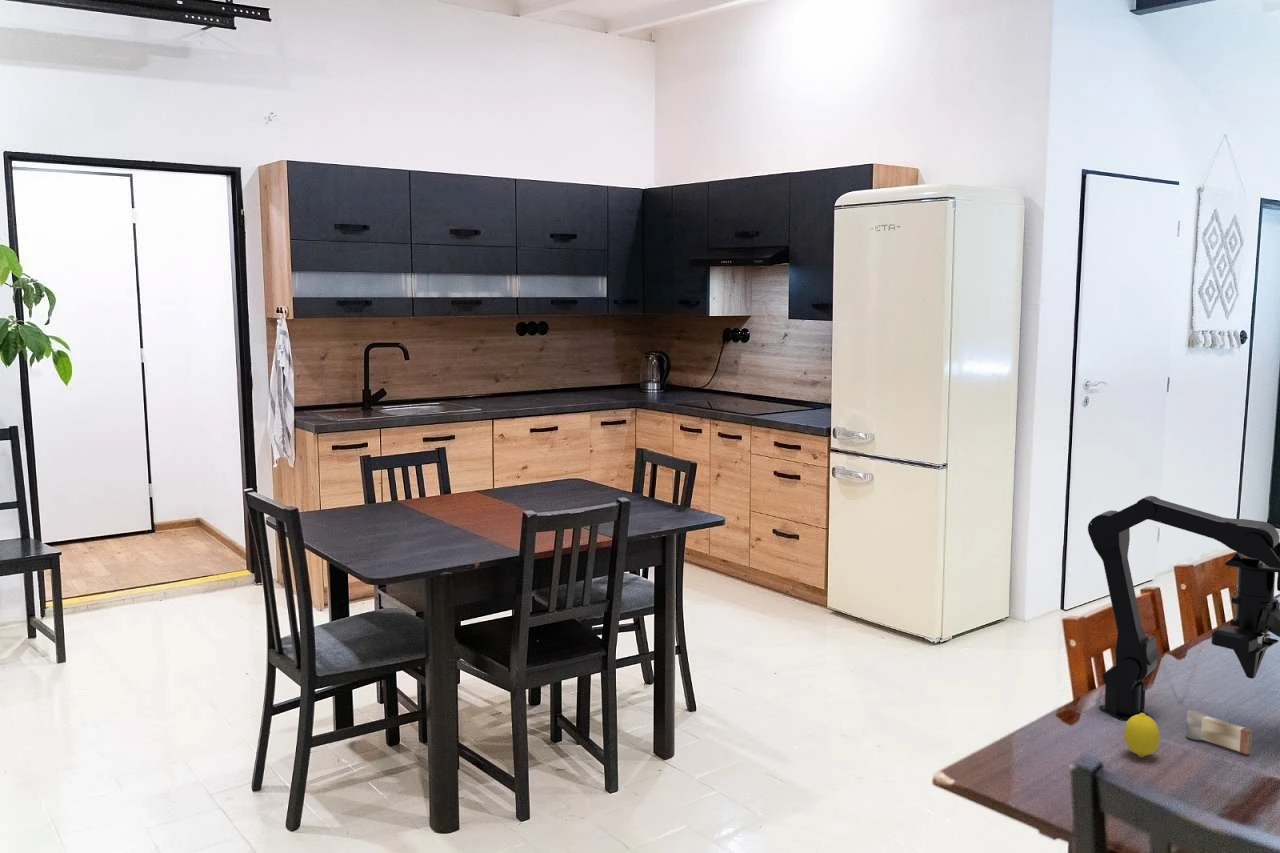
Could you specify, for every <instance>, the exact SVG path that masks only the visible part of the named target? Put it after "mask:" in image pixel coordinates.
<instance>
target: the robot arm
mask: <svg viewBox="0 0 1280 853" xmlns="http://www.w3.org/2000/svg"><path fill="white" fill-rule="evenodd" d="M1147 520H1150V521H1154V522H1157V523H1160V524H1163V525H1166V526H1167V525H1168V526H1170V527H1174V528H1176V529H1180V530H1183V531H1187V532H1190V533H1194V534H1197V535H1199V536H1203V537H1206V538H1210V539H1213V540H1215V541H1217V542H1220V543H1221V544H1222V545H1224V546H1226V547H1227V548H1229V549H1230V550H1233V551H1234V552H1235V554H1234V555H1233V556H1232V557H1231V558H1229V559H1228V560H1226V561H1225V563H1224V564H1225V567H1231V568H1234V567H1235V568H1237V579H1236V580H1237V581H1236V595H1235V596H1233V597H1231V604H1235V618H1232V619H1230V626H1228V625H1225V626H1224V627H1221V628H1218V629H1216V630H1214V631H1213V632H1211V645H1214V646H1218V647H1222V648H1225V649H1230V650H1233V651H1234V654H1235V655H1236V657H1237V659H1238V661H1239V663H1240V666H1241V668H1242V670H1243V672H1244V674H1245V676H1246V678H1248V679H1252V680H1253V679H1255V678H1256V676H1257V673H1258V671H1259V669H1260V667H1261V663H1262V661H1263V658H1264V656H1265V654H1266V651H1267V650H1268V649H1269V648H1271V647H1272V646H1274V645H1276V644H1278V643H1279V640H1278V639H1276V638H1272V637H1271V634H1273V635H1275V636H1277V637H1278V638H1280V601H1279V599H1277V598H1275V582H1276V588H1277V589H1276V590H1277V591H1278V592H1280V535H1279V534H1280V533H1279V531H1277V529H1276V527H1275V526H1274V525H1272V524H1271V523H1269V522H1267V521H1263V520H1254V519H1253V520H1252V519H1247V518H1246V519H1245V518H1229V517H1223V516H1219V515H1216V514H1212V513H1209V512H1206V511H1205V512H1204V511H1201V510H1198V509H1195V508H1192V507H1189V506H1184V505H1181V504H1178V503H1174V502H1171V501H1169V500H1168V501H1167V500H1165V499H1160V497H1157V496H1154V495H1147V496H1145V497H1143V498H1141V499H1139V500H1137V502H1135V503H1134V504H1132V505H1130V506H1128V507H1125V508H1123V509H1121V510H1119V511H1117V510H1108V511H1107V510H1106V511H1104V512H1102V513H1100V514H1098V515H1095V516H1094V517H1092V519H1091V520H1090V521H1089V523H1088V525H1087V533H1088V536H1089V537H1090V541H1091V543H1092V545H1093V548H1094V550H1095V551H1096V553H1097V554H1098V556H1099V557H1100V559H1101V560H1102V564H1103V567H1104V568H1103V569H1104V573H1105V578H1106V582H1107V588H1108V593H1109V597H1110V601H1111V605H1112V606H1111V607H1112V611H1113V616H1114V620H1115V621H1114V622H1115V627H1116V631H1117V632H1116V633H1117V634H1116V635H1117V636H1116V643H1115V649H1114V651H1115V658H1114V659H1115V664H1113V665H1112V666H1111V667H1110V668H1108V669H1107V670H1106V671H1105V672H1104V673H1103V674H1102V679H1103V681H1104V685H1105V688H1104V689H1105V690H1104V693H1105V694H1104V704H1101V705H1099V706H1098V708H1099V709H1100V710H1102V711H1104V712H1106V713H1107V714H1109V715H1111V716H1113V717H1115V718H1116V719H1119V720H1122V721H1124V720H1129V719H1130V718H1131V717H1132V716H1134V715H1137V714H1140V713H1144V714H1145V715H1147V716H1149V717H1150V715H1149V712H1146V711H1145V707H1146V704H1145V701H1146V690H1145V683H1144V682H1143V681H1141V680H1144V679H1145V678H1146V677H1147V676H1148V675H1149V674H1150V673H1151V672H1153V671H1154V669H1155V668H1156V667H1157V665H1158V659H1159V658H1160V657H1161V654H1160V653H1159V651H1158V648H1157V637H1156V636H1148V634H1147V633H1146V632H1145V630H1144V628H1143V625H1142V621H1141V616H1140V611H1139V607H1138V601H1137V597H1136V596H1137V595H1136V591H1135V587H1134V582H1133V578H1132V573H1131V568H1130V563H1129V558H1128V557H1129V556H1128V554H1129V546H1130V539H1131V538H1130V536H1131V535H1130V534H1131V532H1130V528H1132V527H1135V526H1137V525H1138V524H1141V523H1143V522H1145V521H1147ZM1276 573H1277V580H1276ZM1233 626H1234V627H1233ZM1270 633H1271V634H1270Z"/></svg>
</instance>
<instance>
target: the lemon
mask: <svg viewBox="0 0 1280 853" xmlns="http://www.w3.org/2000/svg"><path fill="white" fill-rule="evenodd" d="M1123 731H1124V733H1123V736H1124V743H1125V744H1126V746H1127V748H1128V749H1129V750H1130V751H1131V752H1132V753H1134V754H1136V755H1137V757H1139V758H1144V757H1146V756H1148V755H1152V754H1153V753H1154V752H1155V751H1156V750H1157V749H1158V746H1159V743H1160V730H1159V728H1158V725H1157V722H1155V720H1154V719H1153V718H1152V717H1150V715H1149V716H1147V715H1145V714H1144V713H1140V714H1137V715H1134V716H1132V717H1131V718H1130V719H1127V721H1126V723H1125V727H1124V730H1123Z"/></svg>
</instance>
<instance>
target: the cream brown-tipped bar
mask: <svg viewBox="0 0 1280 853" xmlns="http://www.w3.org/2000/svg"><path fill="white" fill-rule="evenodd" d="M1253 731H1254V730H1253V729H1252V728H1249V727H1244V726H1241V725H1237V724H1234V723H1231V722H1227V721H1224V720H1221V719H1218V718H1215V717H1211V716H1208V715H1207V714H1206V713H1205V712H1203V711H1201V710H1195V709H1192V710H1187V714H1186V737H1187V738H1189V739H1191V740H1196V741H1205V742H1206V741H1207V742H1209V743H1212V744H1215V745H1218V746H1221V747H1225V748H1228V749H1231V750H1233V751H1236V752H1239V753H1242V754H1245V755H1248V754H1250V753H1252V750H1253Z"/></svg>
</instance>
